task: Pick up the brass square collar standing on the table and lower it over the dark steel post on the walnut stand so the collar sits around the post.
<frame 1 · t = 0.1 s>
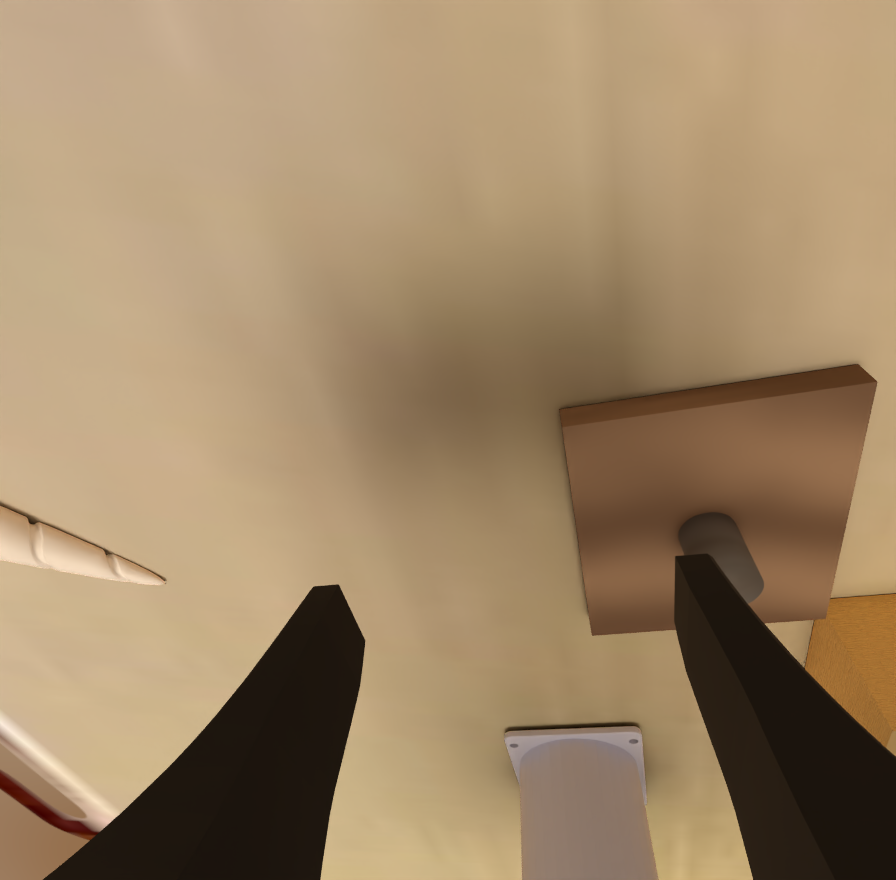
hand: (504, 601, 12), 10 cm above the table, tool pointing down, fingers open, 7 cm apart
brass collar: (874, 632, 27), on the table
post stand: (698, 512, 23), on the table
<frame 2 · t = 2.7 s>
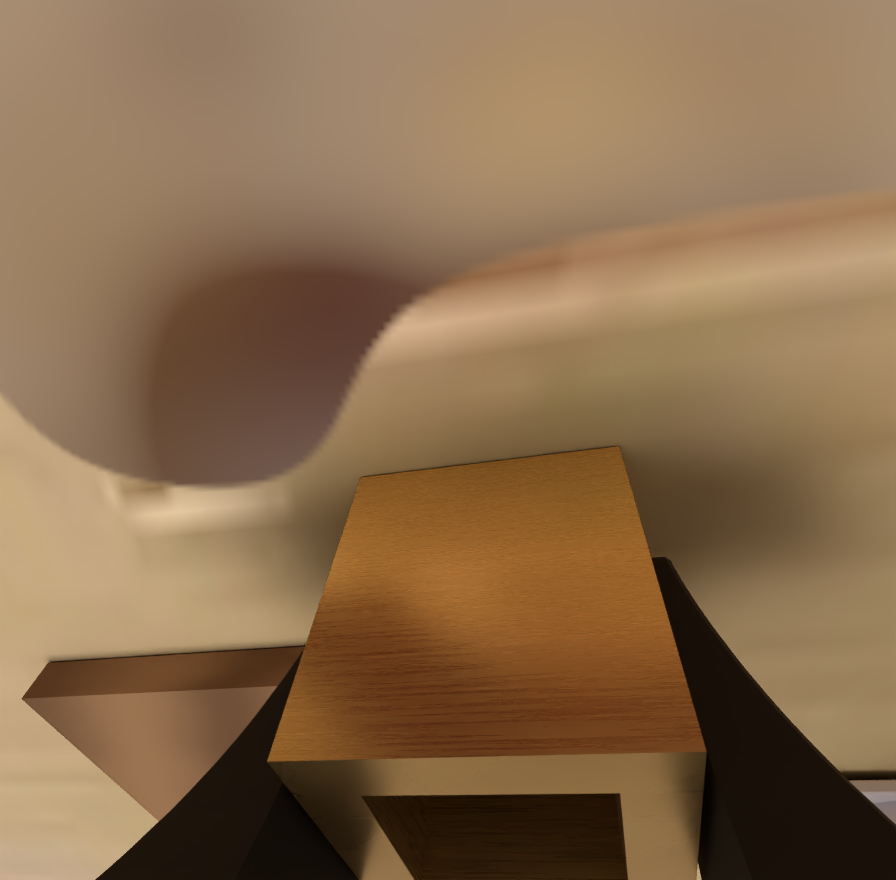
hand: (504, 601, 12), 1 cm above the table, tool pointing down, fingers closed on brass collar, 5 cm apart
brass collar: (504, 553, 13), on the table, touching gripper
post stand: (281, 739, 19), on the table
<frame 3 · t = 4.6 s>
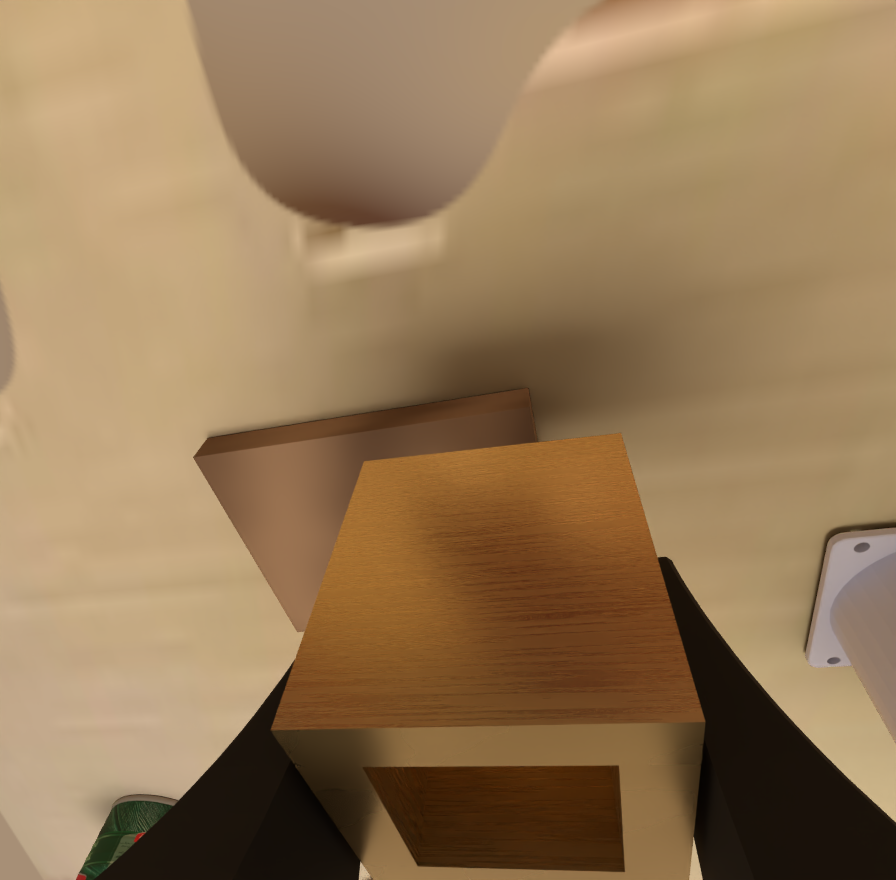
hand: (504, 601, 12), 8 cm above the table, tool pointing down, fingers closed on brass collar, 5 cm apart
brass collar: (505, 540, 13), point 7 cm above the table, touching gripper
canned tomato: (167, 815, 43), on the table
post stand: (397, 518, 23), on the table
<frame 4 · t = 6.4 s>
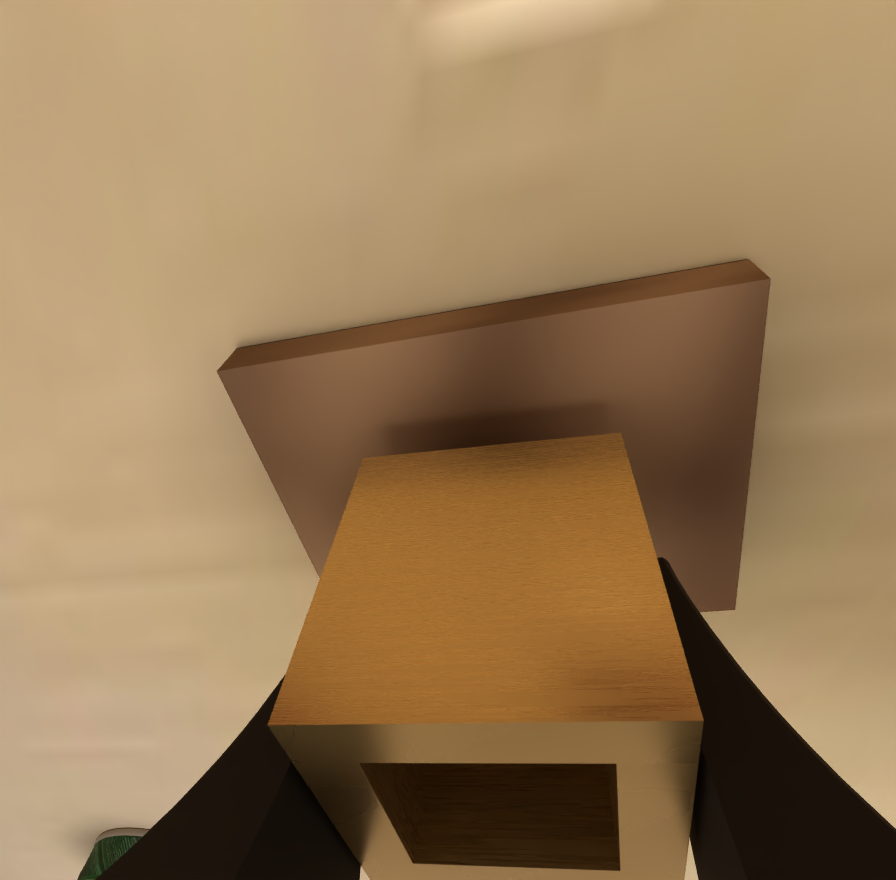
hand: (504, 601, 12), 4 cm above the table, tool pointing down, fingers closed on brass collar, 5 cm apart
brass collar: (503, 539, 13), point 3 cm above the table, touching gripper
canned tomato: (162, 850, 36), on the table
post stand: (504, 475, 16), on the table
when the fingers open (4 cm above the table, at t = 6.7 s): brass collar drops 2 cm, resting on post stand.
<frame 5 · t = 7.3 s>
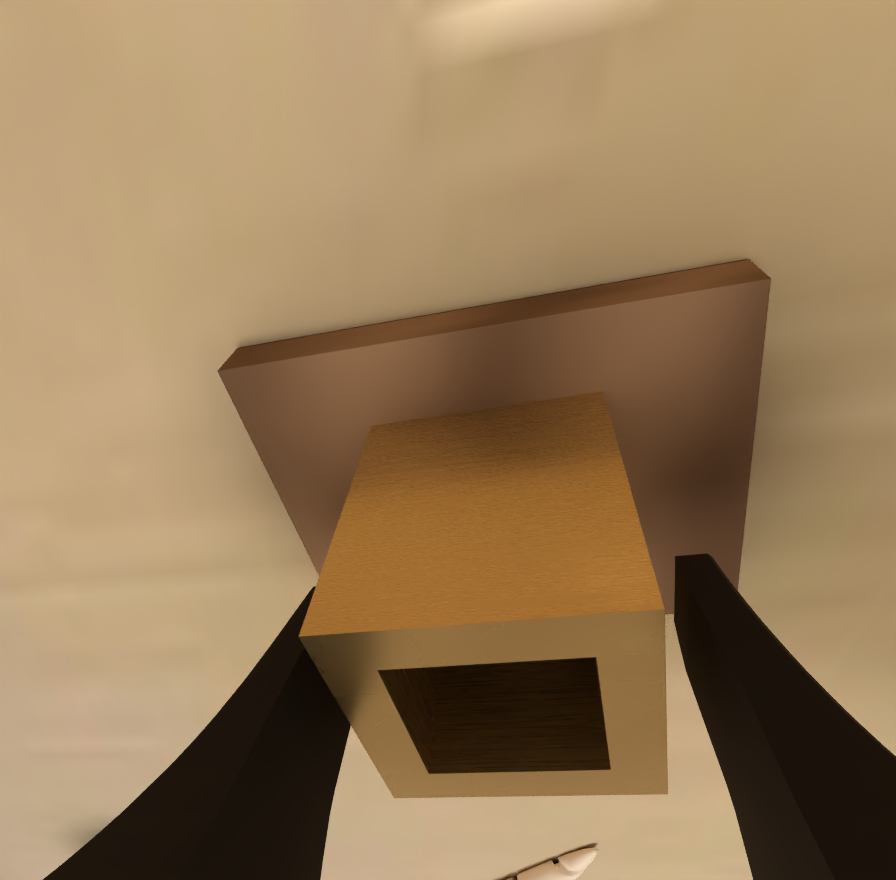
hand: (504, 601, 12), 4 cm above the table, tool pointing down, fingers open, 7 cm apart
brass collar: (502, 497, 15), point 1 cm above the table, touching post stand
post stand: (504, 474, 16), on the table
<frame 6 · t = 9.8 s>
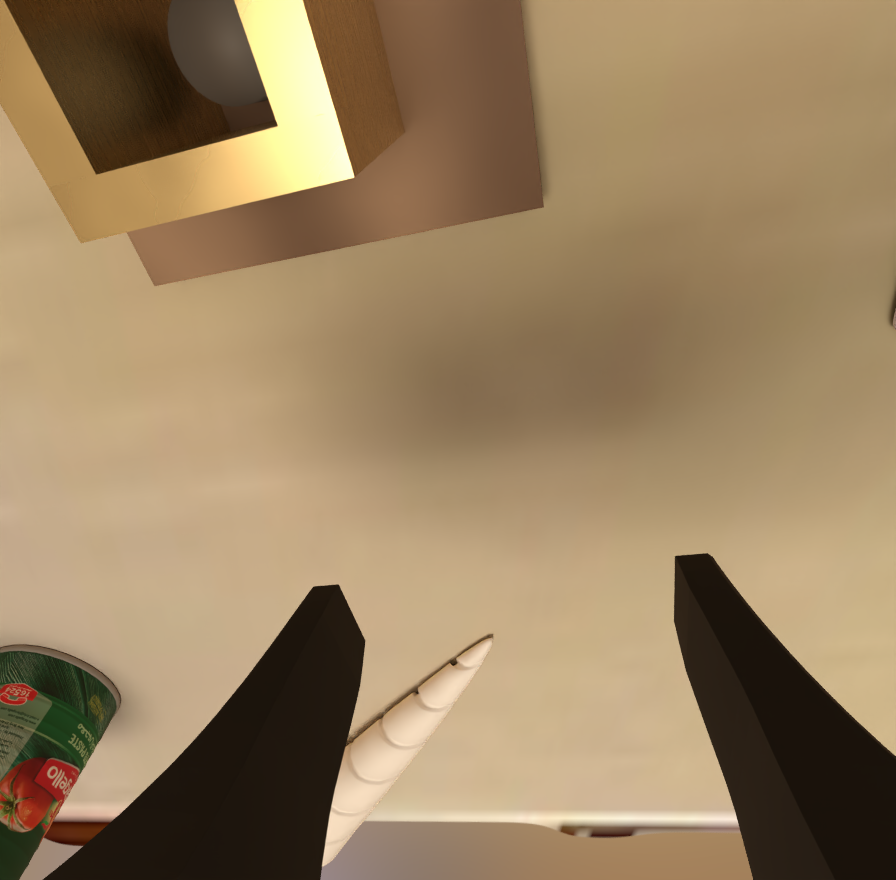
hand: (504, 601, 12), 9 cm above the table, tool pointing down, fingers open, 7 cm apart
brass collar: (265, 33, 13), point 1 cm above the table, touching post stand
unicorn horn: (377, 727, 35), on the table
canned tomato: (58, 681, 34), on the table
post stand: (285, 43, 15), on the table
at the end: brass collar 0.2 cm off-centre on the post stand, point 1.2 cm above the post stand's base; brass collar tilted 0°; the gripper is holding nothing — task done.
